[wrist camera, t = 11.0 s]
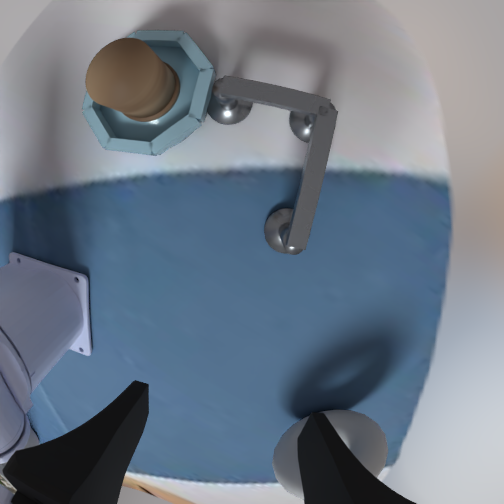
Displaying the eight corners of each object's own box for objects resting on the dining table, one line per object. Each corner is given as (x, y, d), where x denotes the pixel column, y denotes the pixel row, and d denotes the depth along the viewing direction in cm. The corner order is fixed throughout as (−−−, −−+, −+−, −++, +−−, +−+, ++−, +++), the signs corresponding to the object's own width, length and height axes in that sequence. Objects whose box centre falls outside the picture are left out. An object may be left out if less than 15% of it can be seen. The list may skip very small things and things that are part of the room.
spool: (112, 118, 17) (73, 107, 12) (129, 60, 16) (97, 36, 11) (170, 126, 17) (143, 113, 12) (188, 65, 16) (168, 35, 11)
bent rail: (180, 230, 20) (160, 247, 15) (212, 79, 17) (200, 55, 12) (302, 255, 20) (315, 279, 16) (337, 107, 17) (360, 92, 13)
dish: (87, 147, 18) (74, 146, 16) (115, 40, 16) (105, 32, 14) (197, 162, 18) (191, 161, 17) (226, 45, 16) (223, 34, 14)
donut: (369, 389, 24) (405, 470, 14) (370, 411, 25) (400, 487, 15) (266, 415, 24) (270, 505, 15) (274, 435, 25) (279, 517, 16)
